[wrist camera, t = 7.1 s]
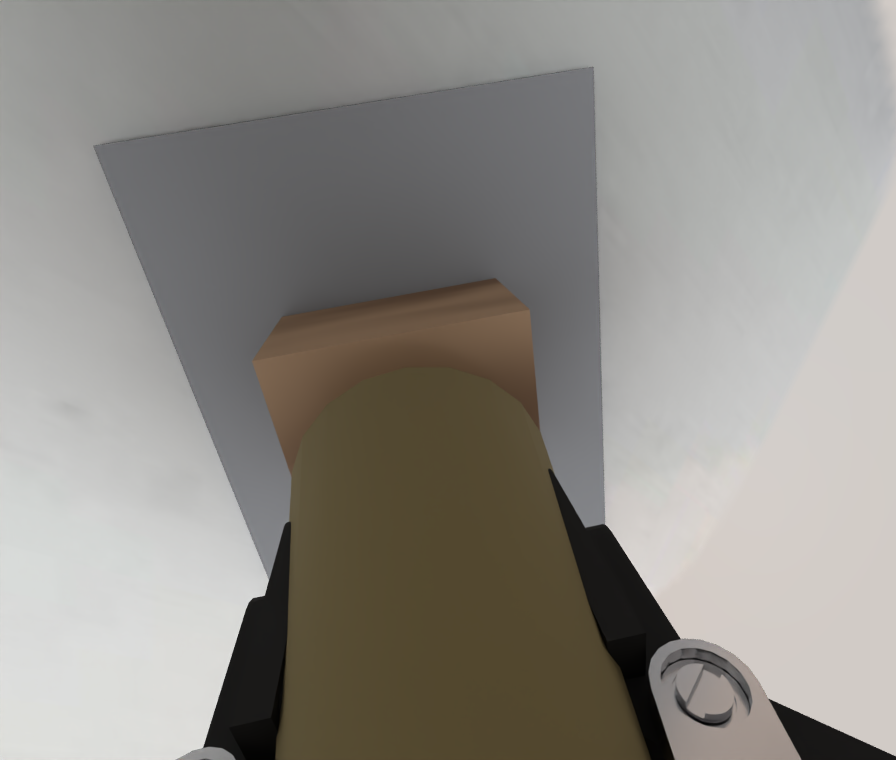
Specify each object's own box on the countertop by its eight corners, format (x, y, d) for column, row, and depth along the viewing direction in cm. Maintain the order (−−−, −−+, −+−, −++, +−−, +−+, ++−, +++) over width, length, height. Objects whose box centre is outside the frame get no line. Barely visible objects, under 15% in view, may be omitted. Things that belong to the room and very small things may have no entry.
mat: (100, 146, 14) (92, 145, 13) (587, 69, 14) (593, 66, 14) (285, 609, 21) (284, 616, 20) (601, 540, 22) (605, 547, 21)
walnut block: (281, 316, 16) (251, 361, 12) (495, 277, 16) (529, 309, 12) (335, 493, 18) (324, 573, 15) (515, 457, 19) (548, 525, 15)
